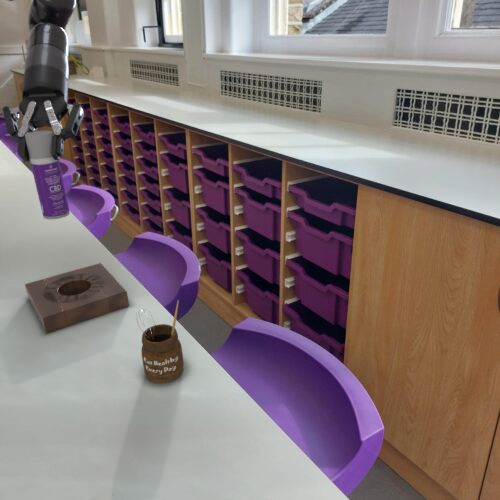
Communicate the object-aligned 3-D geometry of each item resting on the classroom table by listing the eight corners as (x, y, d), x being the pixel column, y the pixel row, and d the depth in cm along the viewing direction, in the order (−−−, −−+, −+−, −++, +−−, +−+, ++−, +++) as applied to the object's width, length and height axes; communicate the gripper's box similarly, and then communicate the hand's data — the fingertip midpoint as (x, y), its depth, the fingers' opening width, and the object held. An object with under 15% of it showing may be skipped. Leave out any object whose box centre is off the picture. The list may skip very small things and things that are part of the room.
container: (58, 220, 87) (39, 136, 81) (37, 218, 89) (17, 135, 82) (75, 211, 91) (58, 130, 85) (55, 209, 93) (37, 129, 86)
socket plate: (46, 335, 84) (42, 317, 83) (28, 299, 95) (24, 284, 94) (129, 307, 91) (126, 291, 90) (103, 277, 103) (100, 262, 101)
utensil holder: (147, 361, 76) (136, 295, 71) (187, 358, 77) (179, 291, 72) (142, 386, 71) (130, 316, 66) (185, 383, 71) (177, 313, 66)
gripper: (-3, 64, 85) (-14, 149, 79) (79, 61, 86) (75, 144, 80) (15, 92, 92) (7, 171, 87) (91, 88, 93) (88, 167, 87)
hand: (40, 158), depth 83 cm, fingers closed on container, 4 cm apart
